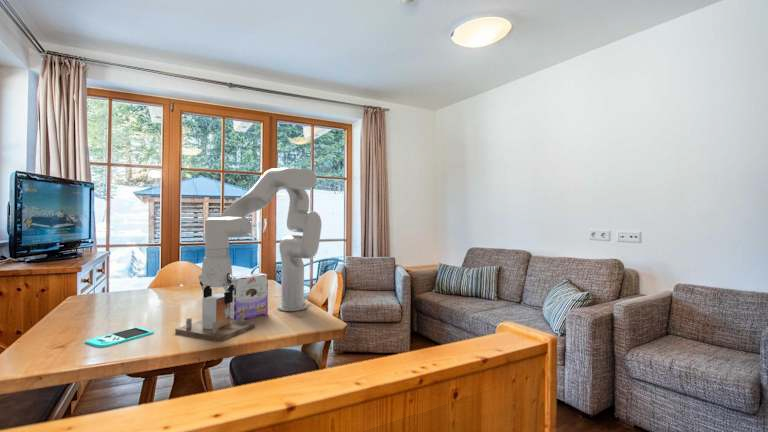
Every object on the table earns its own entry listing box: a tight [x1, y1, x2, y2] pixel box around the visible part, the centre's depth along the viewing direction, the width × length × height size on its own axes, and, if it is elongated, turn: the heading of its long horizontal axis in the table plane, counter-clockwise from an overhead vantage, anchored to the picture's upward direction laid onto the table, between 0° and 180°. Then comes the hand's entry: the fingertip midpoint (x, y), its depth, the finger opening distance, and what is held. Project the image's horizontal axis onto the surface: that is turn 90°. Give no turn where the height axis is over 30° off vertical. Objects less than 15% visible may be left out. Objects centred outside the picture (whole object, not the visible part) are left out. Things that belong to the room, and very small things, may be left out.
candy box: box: [230, 272, 269, 321], centre depth 147 cm, size 14×6×16 cm, turn 135°
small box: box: [201, 293, 230, 329], centre depth 130 cm, size 8×6×10 cm
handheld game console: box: [84, 326, 155, 348], centre depth 121 cm, size 10×16×1 cm, turn 152°
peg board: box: [174, 313, 256, 343], centre depth 130 cm, size 16×20×5 cm
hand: (218, 301), depth 130 cm, fingers open, 9 cm apart
